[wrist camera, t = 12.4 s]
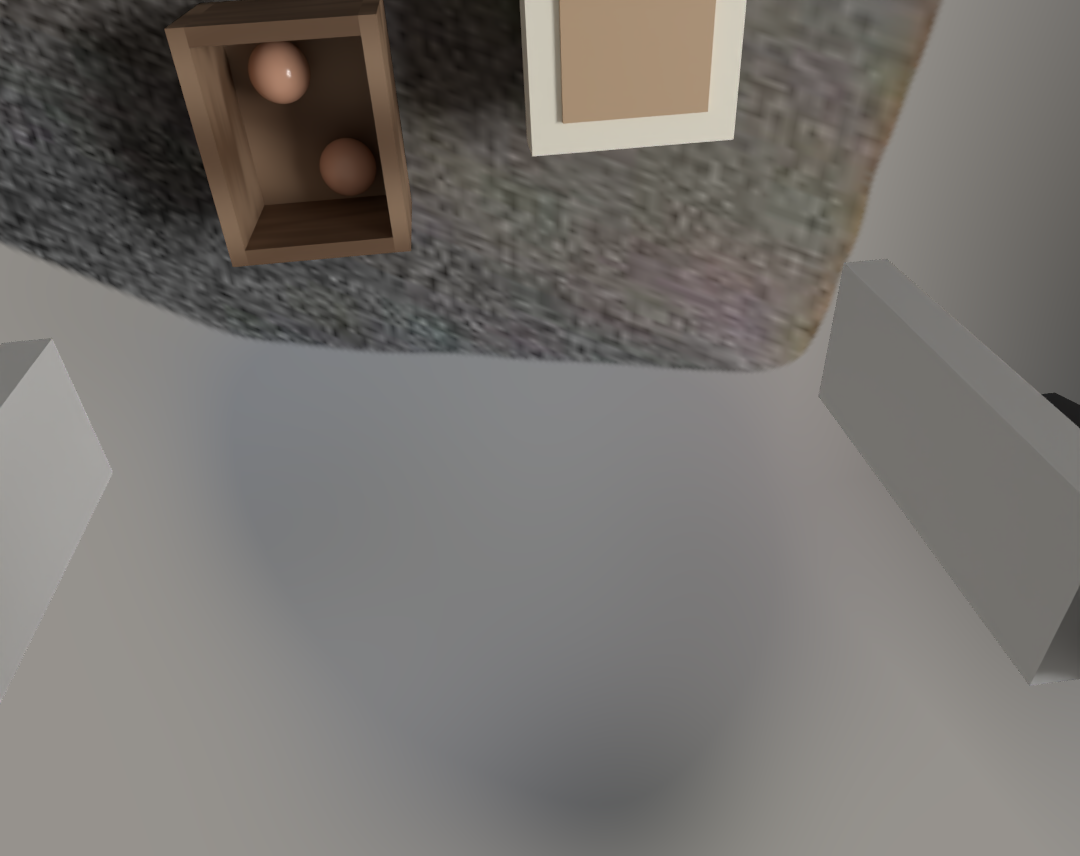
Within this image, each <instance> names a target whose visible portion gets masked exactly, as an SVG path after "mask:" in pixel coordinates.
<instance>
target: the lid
mask: <svg viewBox="0 0 1080 856" xmlns="http://www.w3.org/2000/svg"><path fill="white" fill-rule="evenodd" d="M745 11H746V0H520V19H521V37H522V56H523V75H524V93H525V112H526V130H527V143H528V146H529V148H530V151H531V154H532V156H543V155H554V154H566V153H578V152H590V151H602V150H614V149H625V148H637V147H649V146H661V145H673V144H685V143H697V142H708V141H720V140H732V139H734V128H735V118H736V107H737V96H738V86H739V75H740V64H741V53H742V43H743V32H744V21H745Z"/></svg>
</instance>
